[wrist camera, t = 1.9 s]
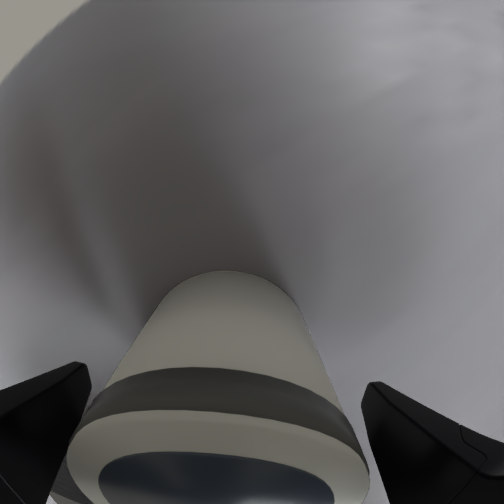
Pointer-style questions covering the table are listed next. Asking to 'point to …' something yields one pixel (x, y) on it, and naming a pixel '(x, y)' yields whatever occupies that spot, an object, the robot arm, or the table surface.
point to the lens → (219, 408)
